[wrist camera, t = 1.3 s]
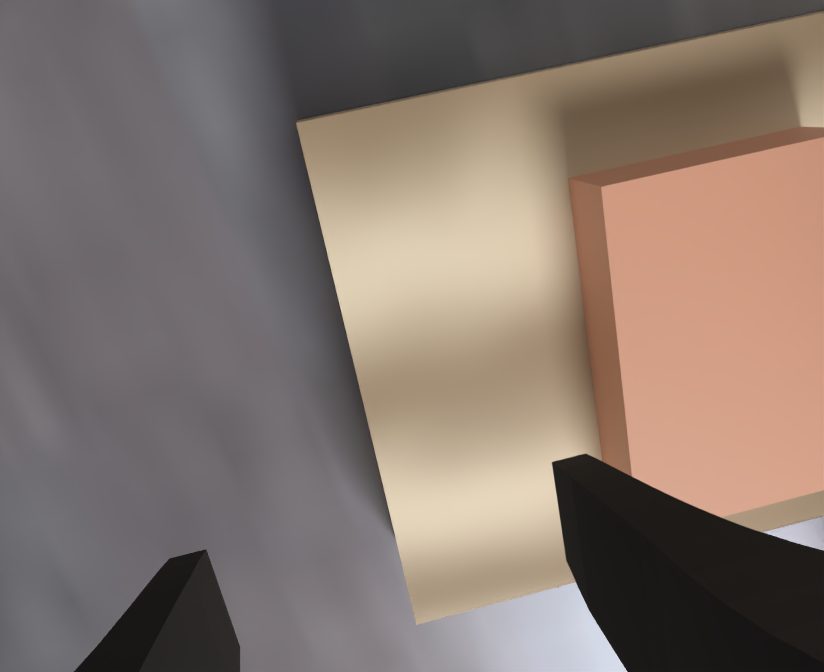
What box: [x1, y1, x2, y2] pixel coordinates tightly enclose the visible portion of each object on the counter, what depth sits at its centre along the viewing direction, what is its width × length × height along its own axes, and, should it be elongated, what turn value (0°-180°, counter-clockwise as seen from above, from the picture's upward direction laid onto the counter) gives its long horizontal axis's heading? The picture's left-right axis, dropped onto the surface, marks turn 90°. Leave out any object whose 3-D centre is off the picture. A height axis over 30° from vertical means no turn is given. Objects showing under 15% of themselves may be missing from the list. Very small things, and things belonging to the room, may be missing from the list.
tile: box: [568, 127, 824, 517], centre depth 18 cm, size 9×6×2 cm, turn 11°
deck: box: [296, 10, 824, 625], centre depth 21 cm, size 14×16×4 cm
